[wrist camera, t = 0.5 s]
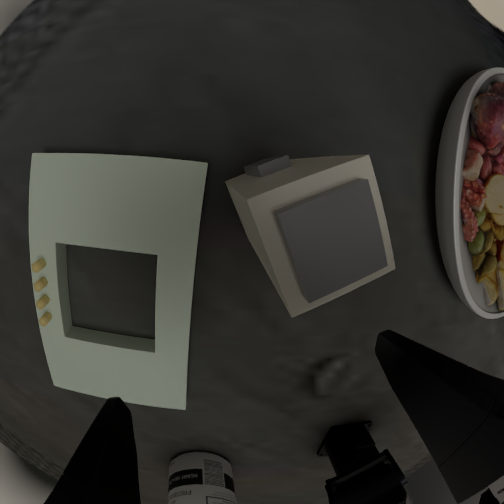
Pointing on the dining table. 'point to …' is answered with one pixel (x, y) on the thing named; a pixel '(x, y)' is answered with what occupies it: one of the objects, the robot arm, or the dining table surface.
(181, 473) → the supplement can
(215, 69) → the dining table surface
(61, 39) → the dining table surface
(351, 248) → the grey tall block
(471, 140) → the bowl
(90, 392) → the board
